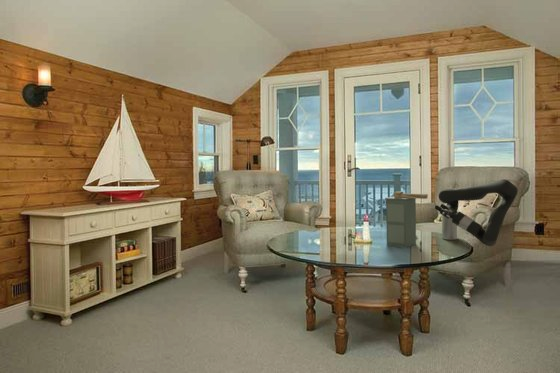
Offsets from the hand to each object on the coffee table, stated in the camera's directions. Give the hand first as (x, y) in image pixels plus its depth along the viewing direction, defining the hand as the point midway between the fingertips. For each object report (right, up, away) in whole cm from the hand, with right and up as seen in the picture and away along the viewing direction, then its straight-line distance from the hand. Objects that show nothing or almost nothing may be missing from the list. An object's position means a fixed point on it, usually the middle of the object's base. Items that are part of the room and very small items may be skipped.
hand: (438, 205), depth 244 cm
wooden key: (-13, +4, +11) cm, 17 cm away
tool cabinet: (-17, -25, +17) cm, 35 cm away
